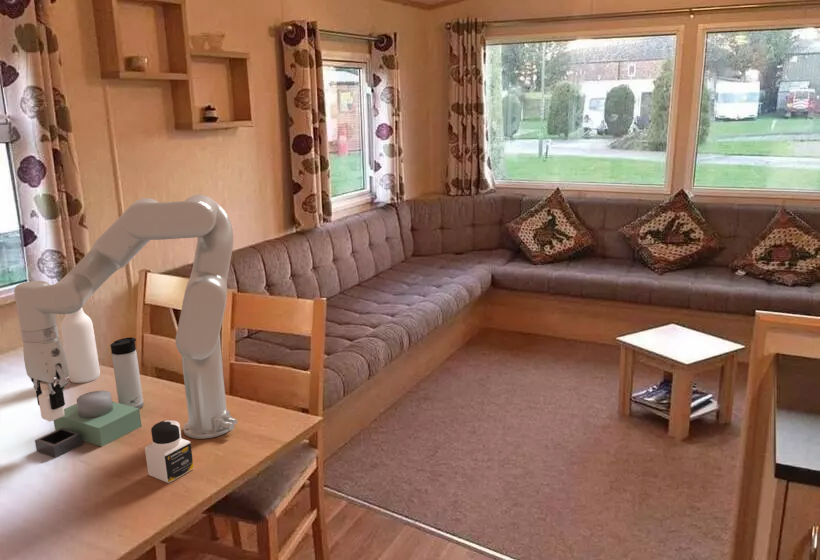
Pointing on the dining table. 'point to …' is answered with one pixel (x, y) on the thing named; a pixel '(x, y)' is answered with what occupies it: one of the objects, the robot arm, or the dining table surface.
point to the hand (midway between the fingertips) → (51, 404)
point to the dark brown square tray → (58, 442)
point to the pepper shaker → (48, 404)
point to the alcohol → (80, 347)
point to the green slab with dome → (99, 418)
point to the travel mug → (127, 372)
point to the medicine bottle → (168, 452)
